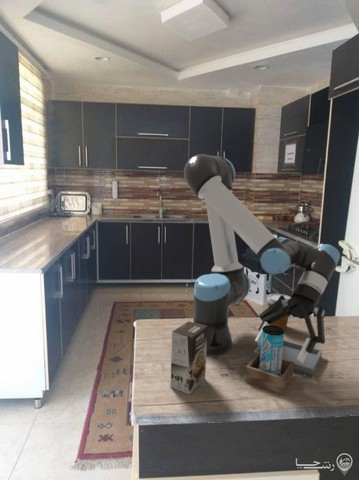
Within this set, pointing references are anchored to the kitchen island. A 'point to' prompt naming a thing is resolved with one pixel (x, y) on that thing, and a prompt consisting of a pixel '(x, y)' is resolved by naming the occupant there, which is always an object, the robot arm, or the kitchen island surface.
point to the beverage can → (271, 349)
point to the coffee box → (188, 356)
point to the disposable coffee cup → (283, 321)
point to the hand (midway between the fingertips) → (277, 351)
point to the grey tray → (291, 354)
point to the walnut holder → (269, 375)
